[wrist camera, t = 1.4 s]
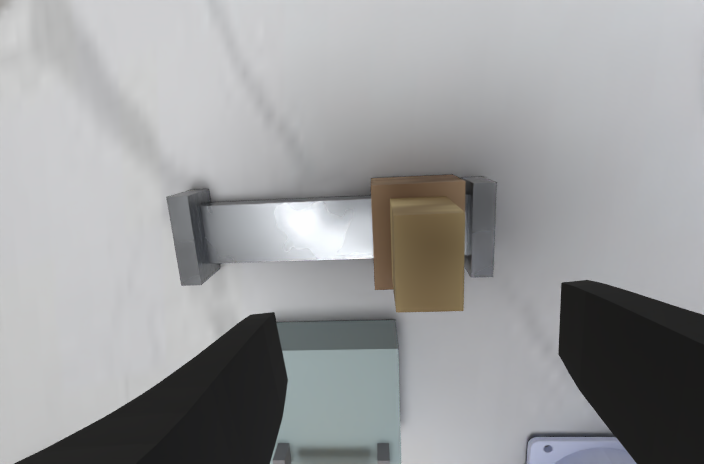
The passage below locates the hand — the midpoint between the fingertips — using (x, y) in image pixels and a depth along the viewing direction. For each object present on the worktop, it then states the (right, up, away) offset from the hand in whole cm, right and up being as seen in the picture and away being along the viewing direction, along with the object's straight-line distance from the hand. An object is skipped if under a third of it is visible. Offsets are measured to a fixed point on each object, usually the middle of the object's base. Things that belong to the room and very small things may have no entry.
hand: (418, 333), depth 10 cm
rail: (-3, +3, +11) cm, 11 cm away
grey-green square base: (-3, -6, +13) cm, 14 cm away
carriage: (+1, +3, +10) cm, 11 cm away
